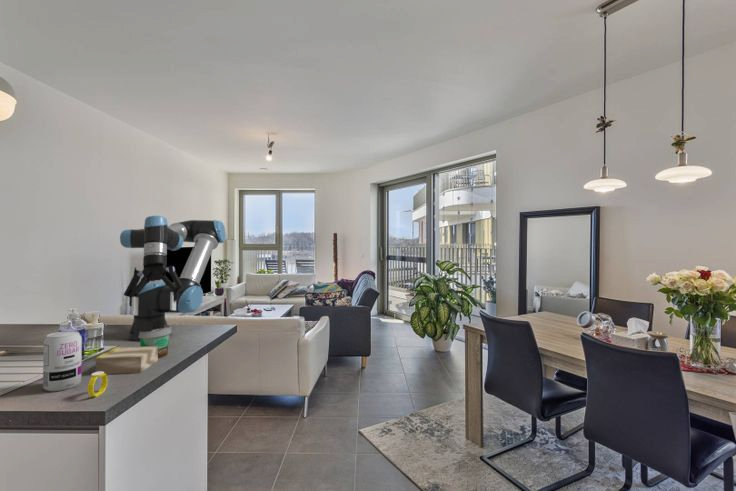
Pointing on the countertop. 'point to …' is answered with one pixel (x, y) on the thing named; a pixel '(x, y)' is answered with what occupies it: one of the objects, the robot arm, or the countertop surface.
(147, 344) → the food container
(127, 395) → the countertop surface
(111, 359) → the loading dock
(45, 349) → the supplement can
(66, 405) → the countertop surface
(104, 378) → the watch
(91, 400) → the countertop surface
